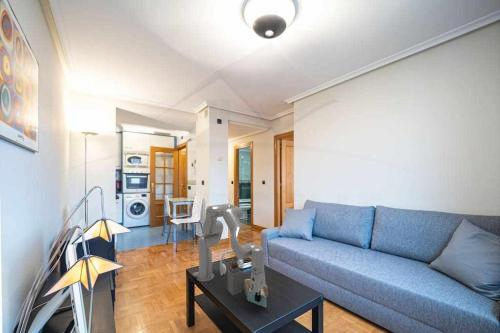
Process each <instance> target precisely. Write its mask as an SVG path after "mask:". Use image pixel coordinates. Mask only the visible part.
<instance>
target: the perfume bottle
mask: <svg viewBox="0 0 500 333" xmlns="http://www.w3.org/2000/svg"><path fill="white" fill-rule="evenodd" d="M228 268H229V269H228V270H227V291H228V292H229V293H230V294H231V295H232V296H236V295H239V294H241V293H243V271H242V269H240V267H239V266H238V264H237V262H232V263H231V266H229V267H228Z"/></svg>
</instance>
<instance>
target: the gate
mask: <svg viewBox="0 0 500 333" xmlns="http://www.w3.org/2000/svg"><path fill="white" fill-rule="evenodd" d="M246 301H248V302H250V303H253V304H255V305H258V306H260V307H263V308H265V309H267V298H266V296H264V295H261V301H260V302H257V301H255V295H253V294H252V291H250V290H247V298H246Z"/></svg>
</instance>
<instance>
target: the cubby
mask: <svg viewBox="0 0 500 333" xmlns="http://www.w3.org/2000/svg"><path fill="white" fill-rule="evenodd" d="M243 282H244V284H243V286H244V293H245V298H246V299H247V290H250V291H251V288H250V283H251V278H245V279H244V281H243ZM268 289H269V288H268V285H267V283H266V282H265V287H264V288H263V289H262V290H261V295H264V296H266V299H268V298H269V297H268V296H269V294H268V293H269V291H268Z"/></svg>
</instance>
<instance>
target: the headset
mask: <svg viewBox="0 0 500 333" xmlns="http://www.w3.org/2000/svg"><path fill="white" fill-rule="evenodd" d="M232 253H234V252H233V250H232V249H229V250H226V251H224V252H223V253H222V255H221V258H220V262H219V273H220V276H223V275H225V274H227V273H226V272H227V266H226V264H225V263H223V259H224V257H225V255H228V254H232ZM236 263H237V264H238V266H239V267H240V270H243V269H244V259H243V260H240V259H238V258H237V262H236ZM241 268H242V269H241Z"/></svg>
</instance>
